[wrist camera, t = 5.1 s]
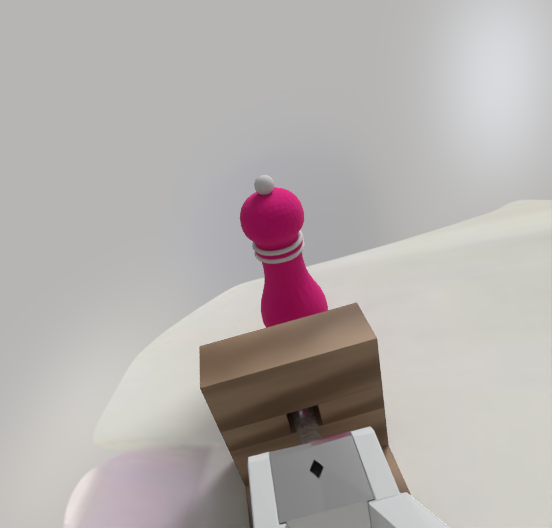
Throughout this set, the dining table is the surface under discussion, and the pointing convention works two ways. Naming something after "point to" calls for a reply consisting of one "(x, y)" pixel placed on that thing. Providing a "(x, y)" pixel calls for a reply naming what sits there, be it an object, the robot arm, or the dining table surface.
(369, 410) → the gauge housing
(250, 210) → the pepper mill
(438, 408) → the dining table surface
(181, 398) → the dining table surface
